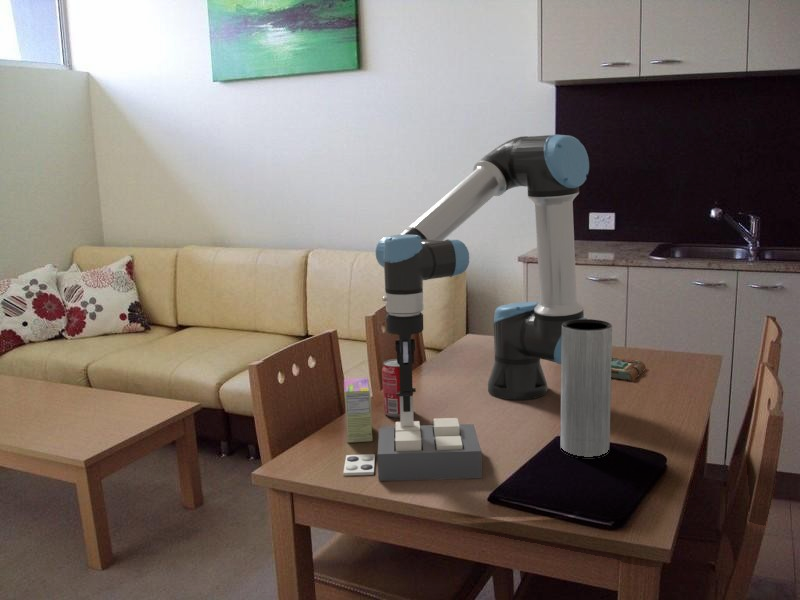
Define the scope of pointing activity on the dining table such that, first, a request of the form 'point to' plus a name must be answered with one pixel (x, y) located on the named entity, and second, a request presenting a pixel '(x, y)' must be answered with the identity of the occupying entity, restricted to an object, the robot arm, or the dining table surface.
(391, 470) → the grey key block
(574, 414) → the vase
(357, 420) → the box
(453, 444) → the key
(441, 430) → the key
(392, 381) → the soda can
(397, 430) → the key
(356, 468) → the white dimpled tile
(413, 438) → the key
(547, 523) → the dining table surface
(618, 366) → the decorative book
